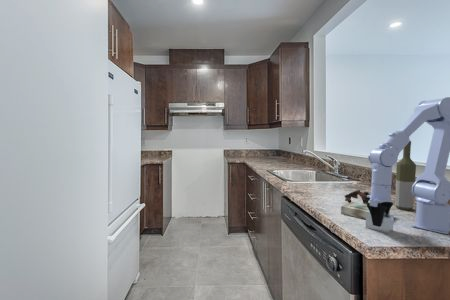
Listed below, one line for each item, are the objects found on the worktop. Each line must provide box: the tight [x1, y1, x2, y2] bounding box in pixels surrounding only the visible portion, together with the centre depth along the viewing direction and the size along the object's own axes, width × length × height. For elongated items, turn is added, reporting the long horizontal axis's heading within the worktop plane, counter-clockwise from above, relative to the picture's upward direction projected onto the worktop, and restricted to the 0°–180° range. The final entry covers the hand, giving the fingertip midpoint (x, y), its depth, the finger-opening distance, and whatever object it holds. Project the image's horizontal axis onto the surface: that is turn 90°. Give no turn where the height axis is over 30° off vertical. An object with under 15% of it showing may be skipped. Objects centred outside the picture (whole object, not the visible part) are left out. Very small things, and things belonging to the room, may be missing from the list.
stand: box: [340, 201, 391, 220], centre depth 103 cm, size 14×12×3 cm
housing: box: [364, 211, 394, 234], centre depth 86 cm, size 7×4×6 cm, turn 43°
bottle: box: [395, 140, 417, 211], centre depth 112 cm, size 7×7×30 cm
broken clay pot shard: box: [344, 189, 371, 204], centre depth 118 cm, size 12×10×8 cm
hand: (379, 224), depth 86 cm, fingers closed on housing, 4 cm apart
